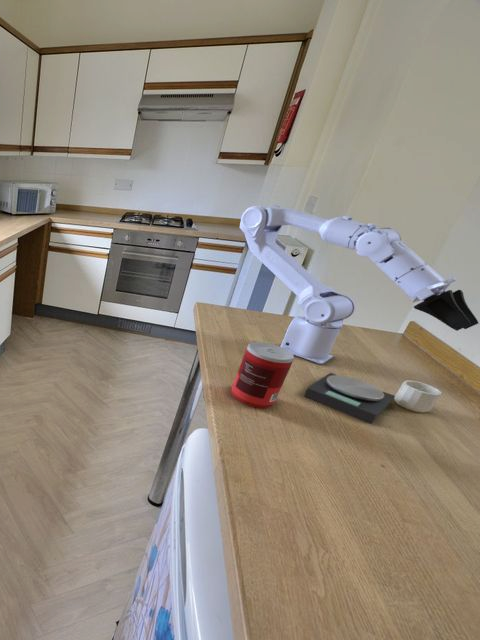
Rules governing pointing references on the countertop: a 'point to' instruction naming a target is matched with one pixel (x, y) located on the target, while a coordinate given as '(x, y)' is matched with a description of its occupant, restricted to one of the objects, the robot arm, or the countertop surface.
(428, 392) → the cup
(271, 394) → the canned food
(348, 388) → the scale pan
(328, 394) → the scale
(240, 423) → the countertop surface
